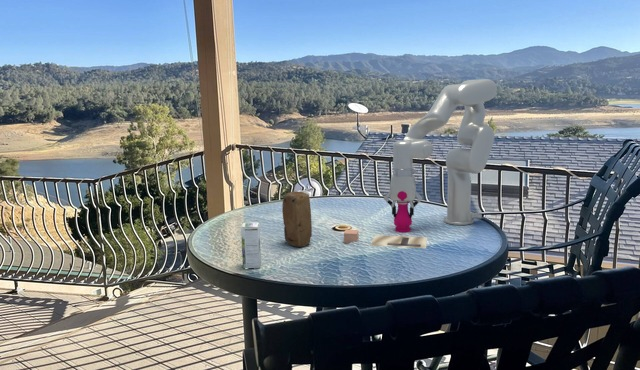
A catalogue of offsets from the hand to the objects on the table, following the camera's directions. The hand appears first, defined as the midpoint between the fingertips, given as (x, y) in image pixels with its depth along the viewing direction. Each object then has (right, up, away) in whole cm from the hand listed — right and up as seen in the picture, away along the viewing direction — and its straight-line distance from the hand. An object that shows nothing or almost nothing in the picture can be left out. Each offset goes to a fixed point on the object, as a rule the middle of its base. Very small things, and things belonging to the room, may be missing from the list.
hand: (402, 216), depth 188 cm
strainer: (-41, -4, +21) cm, 46 cm away
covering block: (-21, -9, -8) cm, 24 cm away
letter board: (-3, -9, -12) cm, 16 cm away
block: (-42, -10, -9) cm, 44 cm away
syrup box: (-56, -15, -30) cm, 65 cm away
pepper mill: (0, -7, +1) cm, 7 cm away
